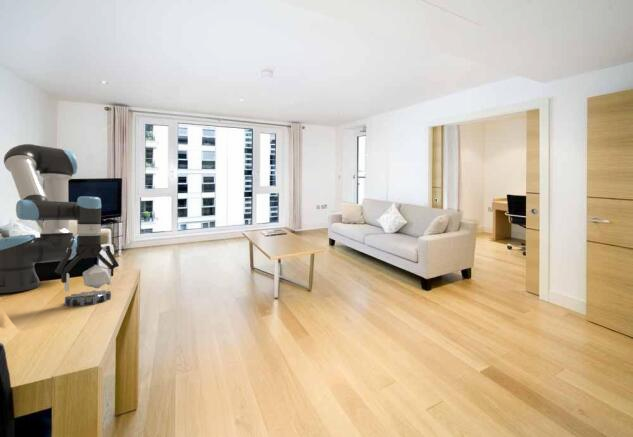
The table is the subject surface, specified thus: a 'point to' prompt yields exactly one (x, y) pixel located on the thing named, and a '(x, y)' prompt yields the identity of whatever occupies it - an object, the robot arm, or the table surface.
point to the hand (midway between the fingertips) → (88, 287)
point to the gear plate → (87, 298)
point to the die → (96, 276)
